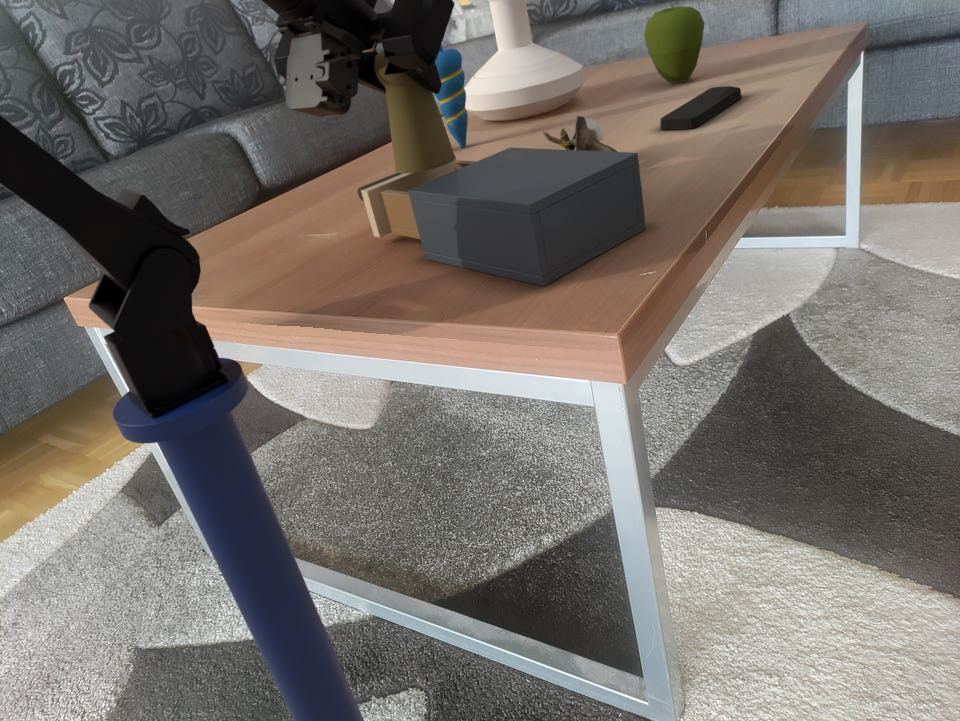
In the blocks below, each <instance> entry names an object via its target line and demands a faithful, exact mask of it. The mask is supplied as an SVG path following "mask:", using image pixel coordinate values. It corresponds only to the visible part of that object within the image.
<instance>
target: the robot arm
mask: <svg viewBox="0 0 960 721" xmlns="http://www.w3.org/2000/svg"><path fill="white" fill-rule="evenodd" d="M260 1H261V2H262V3H264V4H265V5H266V6H267V7H269V8H270V9H271V10H272V11H273V12H275V14H277V15H278V17H277V18H276V22H275V24H274V26H276V27H277V28H278V32H279V34H281V37H280V39H279V42H278V45H277V47H276V51H275V53H274V56H273V61H274V65H275V68H276V70H277V72H276V73H277V74H279V75H280V76H281V77H282V78H284V79H285V105H286V106H287V108H288V109H289V110H292V111H295V112H299V113H302V114H303V113H304V114H307V115H311V116H315V117H320V118H321V117H329V116H343V115H346V114H347V113H348V112H349V111H350V109H351V105H352V98H354V97H355V96H357V94H358V93H359V92H358V91H359V85H362V86H364V87H366V88H368V89H369V88H370V89H372V90H374V91H376V92H379V93H382V94H384V95H386V89H385V87H384V86H383V85H382V84H381V83H380V82H379V80H378V78H377V76H376V73H375V69H374V61H375V57H376V55H377V54H378V53H379V52H378V51H377V47H378V44H381V46H382V51H383V50H384V54H385V57H386V58H387V59H388V60H389V62H388V65H387V68H386V71H385V74H384V75H392V74H400V73H405V74H406V75H408V76H409V77H410V78H412V79H413V80H415V81H416V82H417V83H419V84H420V85H422V86H423V87H424V88H426V89H428V90H429V91H431V92H433V95H435V94H438V93H439V92H440V89H441V86H442V83H441V80H440V76H439V73H438V70H437V66H436V63H435V60H436V59H437V56H438V53H439V50H440V47H441V44H442V45H443V40H444V39H445V38H444V37H445V35H446V32H447V28H448V25H449V24H450V19H451V16H452V13H453V10H454V7H455V2H454V0H394V2H393V4H392V5H391V6H390V7H389V9H388V10H386V11H382V12H377V11H376V10H375V9H376V5H377V2H378V0H260ZM0 185H1V187H3V188H4V189H6V190H7V191H8V192H10V193H11V194H12V195H14V196H16V197H17V198H19V199H20V200H21V201H23V202H24V203H25V204H26V205H28V206H29V207H31V208H32V209H34V210H35V211H36V212H38V213H39V214H40V215H42V216H44V218H47V220H48V221H50V222H52V223H53V224H54V225H55V226H56V227H57V228H58V229H59V230H61V232H62V233H63V234H64V235H65V236H66V238H68V239H69V240H70V242H72V243H73V245H75V246H76V247H77V248H78V250H79V251H80V252H81V253H82V254H83V255H84V256H85V257H86V258H87V259H88V260H89V261H90V262H91V263H92V264H93V265H94V266H95V267H97V269H98V270H99V271H100V272H101V273H102V274H101V276H100V278H99V280H98V282H97V285H96V287H95V289H94V291H93V294H92V296H91V298H90V300H89V303H88V308H89V310H90V311H91V312H93V313H94V315H96V316H97V317H98V318H99V319H100V320H101V321H102V322H103V323H104V324H106V325H107V326H108V327H109V328H110V329H111V330H112V332H110V333H108V334H106V335H104V336H103V338H104V341H105V343H106V345H107V347H108V349H109V351H110V353H111V355H112V357H113V359H114V361H115V363H116V365H117V367H118V369H119V371H120V373H121V375H122V377H123V379H124V381H125V383H126V385H127V388H128V389H129V390H128V391H129V392H128V391H127V392H128V393H127V392H126V393H127V395H128V397H129V399H130V400H131V401H133V402H134V403H135V404H136V405H137V406H138V407H139V408H140V409H141V410H142V411H144V412H145V413H146V414H147V415H148V416H149V417H150V418H152V419H154V418H158V417H160V416H162V415H164V414H166V413H168V412H170V411H172V410H174V409H176V408H178V407H180V406H182V405H184V404H186V403H188V402H190V401H192V400H194V399H196V398H198V397H200V396H202V395H204V394H206V393H208V392H210V391H211V390H213V389H215V388H217V387H219V386H221V385H223V384H225V383H227V382H228V379H227V377H226V375H224V374H223V373H221V372H219V371H218V370H221V369H222V363H221V361H220V359H219V358H220V356H219V354H218V352H217V349H216V348H215V344H214V342H213V339H212V337H211V335H210V333H209V330H208V327H207V326H206V324H204V323H202V322H200V321H198V320H197V319H196V317H195V315H194V313H193V293H194V291H195V289H196V288H197V286H198V284H199V281H200V277H201V272H202V269H201V261H200V260H201V257H200V254H199V253H198V251H197V249H196V248H195V246H194V245H192V243H191V242H190V241H189V240H188V239H186V238H185V237H184V236H187V235H190V233H191V231H190V229H188V228H186V227H183V226H180V225H178V224H175V223H174V222H172V221H170V220H169V219H168V218H167V217H166V216H165V215H164V214H163V212H161V210H160V209H159V208H158V207H157V206H156V205H155V203H154V202H152V201H151V200H150V199H149V198H148V197H147V196H146V194H145V195H144V194H141V193H138V192H135V191H133V190H129V189H126V188H122V189H121V190H120V192H119V194H118V195H117V197H116V198H115V199H113V198H112V197H109V196H108V195H106V194H104V193H102V192H100V191H99V190H97V189H95V188H94V187H93V186H91V184H89V183H88V182H86V181H85V180H84V179H83V178H81V177H80V176H79V175H78V174H76V173H75V172H74V171H73V170H71V169H70V168H69V167H68V166H66V165H65V164H63V163H62V162H61V161H60V160H58V159H57V158H56V157H54V156H53V155H52V154H50V152H48V151H47V150H45V149H44V148H43V147H42V146H40V145H39V144H38V143H37V142H36V141H34V140H33V139H31V137H28V136H27V135H26V134H25V133H24V132H23V131H21V130H20V129H19V128H18V127H16V126H15V125H13V123H11V122H9V120H7V119H6V118H4V117H3V116H2V115H0Z"/></svg>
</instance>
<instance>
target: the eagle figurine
mask: <svg viewBox="0 0 960 721" xmlns="http://www.w3.org/2000/svg"><path fill="white" fill-rule="evenodd" d="M542 134H543V136H544V137H545V138H546V140H548V141H549V142H551V143H553V144H557V145H559V146H561V148H564V150H581V151H606V152H618V150H616V149H615V148H613V147H612V146H609V145H607V144H605V143H603V142H601V141H602V140H604V134H603V131H602V129H601V126H600V125H599V122H598V121H596V120H595V119H594V118H591V117H585V116H581V115H580V116H579V115H577V116H576V120H575V129H574V134H573V136H572V139H570V136H569V134H568V132H567V131H566V129H565V128H564V127H562V128H561V130H560V138H557V137H555V136H553V135H551V134H549V132H546V131H543V132H542Z"/></svg>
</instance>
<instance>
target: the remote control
mask: <svg viewBox="0 0 960 721" xmlns="http://www.w3.org/2000/svg"><path fill="white" fill-rule="evenodd" d="M740 99H742V90H741V87H738V86H731V85H725V86H714V87H713V86H712V87H710V88H708V89H706V90H704V91H703V92H702V93H700V94H698V95H697V96H695V97H693V98H692V99H690V100H688V101H687V102H685V103H683V104H682V105H680V106H679V107H677V108H675V109H673V110H672V111H670V112H669V113H667V114H665V115H664V116H662V117H661V118H660V127H659V128H660V130H661V131H669V130H670V131H671V130H689V129H695V128H698V127H700V126H701V125H703V124H704V123H705V122H707V121H709V120H710V119H712V118H713V117H714V116H716V115H717V114H719V113H721V112H722V111H723V110H726V109H727V108H728V107H729V106H731V105H733V104H734V103H736V102H737V101H738V100H740Z"/></svg>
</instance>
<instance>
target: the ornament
mask: <svg viewBox="0 0 960 721" xmlns="http://www.w3.org/2000/svg"><path fill="white" fill-rule="evenodd" d="M435 63H436V66H437V70H438V73H439V76H440V80H441V83H442V86H441V89H440V92H439V93H438V94H434V97H435V99H437V101H438V102H439V108H440V109H439V110H440V113H441V114H442V116H443V117H444V119H445V121H446V128H447V131H449V133H450V135H451V136H452V137H453V139H454V140H455V141H456V144H458V146H459V147H460V148H461V149H463V148H466V146H467V136H468V135H467V134H468V119H469V118H468V116H469V115H468V111H467V110H466V108H465V104H466V92H465V89H464V87H465V86H464V85H465V78H466V77H465V75H466V74H465V72H464V70H463V67H462V65H463V64H462V63H463V57H462V54H461V52H460V51H459V50H457V49H455V48H443V43H442V44H441V47H440V50H439V53H438V56H437V59H436V60H435Z"/></svg>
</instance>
